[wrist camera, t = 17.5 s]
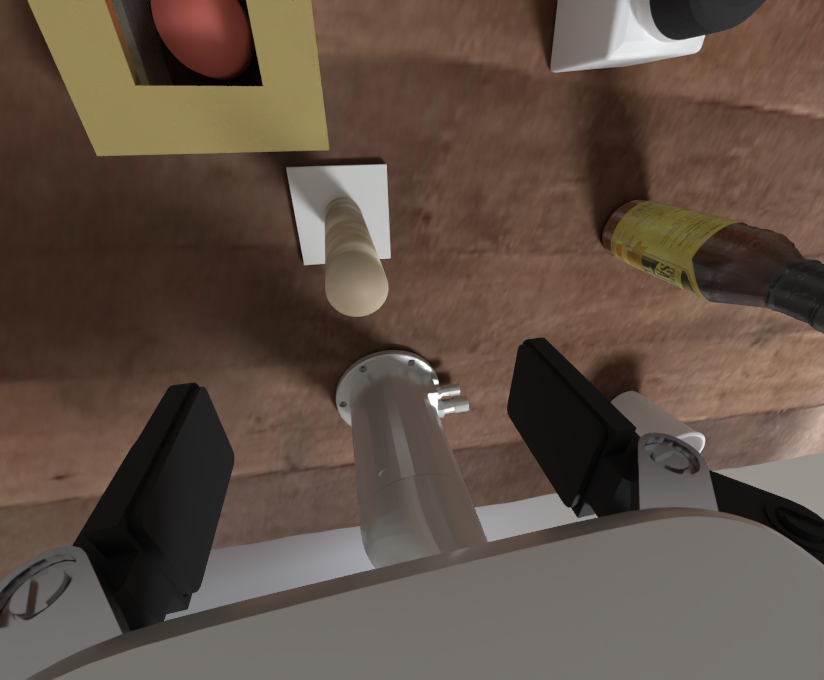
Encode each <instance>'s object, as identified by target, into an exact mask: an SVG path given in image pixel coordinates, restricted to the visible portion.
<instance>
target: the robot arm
mask: <svg viewBox="0 0 824 680" xmlns="http://www.w3.org/2000/svg"><path fill="white" fill-rule="evenodd" d="M454 395H460V387H459V384H458V383H456V384H450V385H447V386H439V380H438V378H437V375H436V373H435V371H434V369H433V367H432V366H431V365H430V364H429V363H428V362H427V361H426V360H425V359H424V358H422V357H421V356H419V355H417V354H414V353H412V352H408V351H403V350H386V351H379V352H376V353H372V354H369V355H367V356H365V357H363V358H361V359H359V360H358V361H356V362H355V363H354V364H352V365H351V366H350V367H349V368H348V369H347V370H346V371H345V372H344V374H343V375H342V377H341V378H340V380H339V383H338V385H337V389H336V405H337V409H338V412H339V414H340V416H341V417H342V418H343V420H344V421H345V422H346V423H347V424H349V425H350V426H351V427H352V437H353V448H354V460H355V471H356V483H357V494H358V506H359V517H360V528H361V536H362V542H363V545H364V549H365V551H366V554H367V556H368V557H369V560H370V561H371V563H372V564H373V565H374V567H375V569H373V570H369V571H365V572H360V573H356V574H352V575H348V576H344V577H340V578H335V579H331V580H328V581H323V582H319V583H315V584H311V585H306V586H302V587H298V588H294V589H290V590H286V591H281V592H277V593H273V594H269V595H265V596H261V597H257V598H253V599H248V600H245V601H241V602H237V603H233V604H229V605H225V606H221V607H217V608H214V609H210V610H206V611H202V612H198V613H194V614H190V615H186V616H183V617H179V618H175V619H171V620H167V621H164V619H165V616H166V614H169V613H174V612H178V611H182V610H186V609H188V606H189V603H190V599H191V596H192V593H195V592H197V591H198V590H199V588H200V586H201V583H202V580H203V576H204V572H205V569H206V565H207V561H208V557H209V554H210V550H211V547H212V543H213V539H214V536H215V532H216V528H217V525H218V521H219V517H220V513H221V510H222V506H223V502H224V499H225V495H226V491H227V488H228V484H229V480H230V477H231V473H232V469H233V465H234V453H233V450H232V447H231V445H230V443H229V440H228V438H227V436H226V433H225V431H224V429H223V427H222V424H221V422H220V420H219V417H218V415H217V413H216V410H215V408H214V406H213V403H212V401H211V399H210V396H209V394H208V392H207V390H206V388H205V387H199V386H198V384H196V383H187V384H180V385H172V386H170V387H169V388H168V389H167V391H166V393H165V394H164V396H163V398H162V399H161V401H160V403H159V404H158V406H157V408H156V409H155V411H154V413H153V414H152V416H151V418H150V420H149V421H148V423H147V425H146V426H145V428H144V430H143V431H142V433H141V435H140V436H139V438H138V440H137V441H136V442H135V444H134V445H133V446H132V447H131V449H130V451H129V452H128V454H127V456H126V457H125V459H124V461H123V462H122V464H121V466H120V467H119V469H118V471H117V472H116V474H115V476H114V477H113V479H112V481H111V482H110V484H109V486H108V487H107V489H106V491H105V492H104V494H103V496H102V497H101V499H100V501H99V502H98V504H97V506H96V507H95V509H94V511H93V512H92V514H91V516H90V517H89V519H88V521H87V522H86V524H85V526H84V527H83V529H82V531H81V532H80V534H79V536H78V537H77V539H76V541H75V542H74V544H73V545H72V546H64V547H58V548H55V549H52V550H49V551H46V552H44V553H42V554H40V555H38V556H36V557H34V558H32V559H31V560H29V561H27V562H26V563H24V564H23V565H21V566H20V567H19V568H17V569H16V570H15V571H13V572H12V573H11V574H10V575H8V576H7V577H6V578H5V579H4V580H3V581H2V582H1V583H0V680H824V520H823V519H822V518H821V517H820V516H818V515H817V514H815V513H814V512H812V511H811V510H809V509H807V508H806V507H804V506H802V505H800V504H797V503H795V502H793V501H791V500H788V499H786V498H783V497H780V496H777V495H775V494H772V493H769V492H767V491H764V490H761V489H759V488H756V487H753V486H751V485H748V484H745V483H742V482H739V481H737V480H734V479H731V478H729V477H726V476H723V475H721V474H718V473H715V472H713V471H710V470H709V468H708V465H707V463H706V461H705V459H704V458H703V456H702V455H701V454H700V453H699V452H698V451H697V450H696V449H695V448H693V447H692V446H691V445H690V444H688V443H686V442H684V441H682V440H681V439H679V438H676V437H674V436H671V435H668V434H663V433H647V434H644V435H643V436H642V437H640V436H639V435H638V434H637V433H636V432H635V430H636V427H635V426H634V425H633V424H632V423H631V422H630V421H629V420H628V419H627V418H626V417H625V416H624V415H623V414H622V413H621V412H620V411H619V410H618V409H617V408H616V407H615V406H614V405H613V404H612V403H611V402H610V401H609V400H608V399H607V398H606V397H605V396H604V395H603V394H602V393H601V392H599V391H598V390H597V389H596V388H595V387H594V386H593V385H592V384H591V383H590V382H589V381H588V380H587V379H586V378H585V377H584V376H583V375H582V374H581V373H580V372H579V371H578V370H577V369H576V368H575V367H574V366H573V365H572V364H571V363H570V362H569V361H568V360H567V359H566V358H565V357H564V356H563V355H561V354H560V353H559V352H558V351H557V350H556V349H555V348H554V347H553V346H552V345H551V344H550V343H549V342H548V341H547V340H546V339H545V338H535V339H527V340H525V341H524V342H523V345H520V346H519V348H518V352H517V357H516V362H515V368H514V373H513V378H512V384H511V389H510V394H509V399H508V405H507V411H508V415H509V417H510V419H511V420H512V422H513V424H514V425H515V427H516V428H517V430H518V432H519V433H520V435H521V436H522V438H523V440H524V441H525V443H526V444H527V446H528V448H529V449H530V451H531V452H532V454H533V455H534V457H535V459H536V460H537V462H538V463H539V465H540V467H541V468H542V470H543V471H544V473H545V475H546V476H547V478H548V479H549V481H550V483H551V484H552V486H553V487H554V489H555V490H556V492H557V494H558V495H559V497H560V498H561V500H562V501H563V503H564V504H565V505H566V506H567V507H571V508H572V510H573V511H574V513H575V514H576V516H577V517H578V518H580V517H584V516H588V515H593V514H595V513H596V515H597V516H598V518H594V519H590V520H585V521H580V522H575V523H571V524H567V525H562V526H557V527H553V528H549V529H544V530H540V531H536V532H531V533H527V534H523V535H518V536H514V537H510V538H505V539H501V540H496V541H492V542H488V539H487V537H486V535H485V533H484V530H483V528H482V526H481V523H480V521H479V518H478V516H477V514H476V511H475V508H474V506H473V503H472V501H471V498H470V495H469V493H468V490H467V488H466V485H465V483H464V480H463V477H462V475H461V472H460V470H459V467H458V465H457V462H456V459H455V457H454V454H453V452H452V449H451V446H450V444H449V441H448V439H447V436H446V434H445V431H444V428H443V426H442V423H441V421H440V418H443V417H444V414H447V413H459V412H465V411H468V410H469V402H468V399H467V397H466V396H459V397H453V398H451V399H445V400H442V399H441V397H444V396H454Z"/></svg>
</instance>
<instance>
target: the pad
mask: <svg viewBox="0 0 824 680" xmlns="http://www.w3.org/2000/svg"><path fill="white" fill-rule="evenodd" d="M286 170H287V175H288V181H289V186H290V191H291V197H292V202H293V208H294V213H295V218H296V224H297V229H298V234H299V240H300V245H301V250H302V256H303V261H304V265H313V264H325V210H326V207H327V205H328V204H329V203H330V202H331V201H332V200H334V199H336V198H340V197H345V198H349V199H351V200H353V201H354V202H355V203H356V204H357V205H358V206H359V208H360V210H361V212H362V215H363V218H364V220H365V223H366V226H367V228H368V231H369V233H370V236H371V239H372V241H373V244H374V246H375V249H376V252H377V254H378V257H379V259H387V258H391V254H390V232H389V210H388V187H387V165H386V164H364V165H334V166H303V167H286Z"/></svg>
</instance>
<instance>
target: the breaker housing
mask: <svg viewBox="0 0 824 680" xmlns="http://www.w3.org/2000/svg"><path fill="white" fill-rule="evenodd" d="M246 2H247V7H248V12H249V17H250V23H251V28H252V33H253V38H254V43H255V48H256V53H257V58H258V63H259V68H260V73H261V78H262V83H263V86H173V85H172V81H171V78H170V75H169V72H168V69H167V65H166V62H165V59H164V56H163V53H162V49H161V46H160V43H159V40H158V37H157V33H156V30H155V27H154V24H153V21H152V17H151V14H150V11H149V8H148V4H147V1H146V0H28V3H29V5H30V7H31V9H32V12H33V14H34V16H35V18H36V21H37V23H38V25H39V27H40V30H41V32H42V34H43V36H44V38H45V41H46V43H47V45H48V47H49V50H50V52H51V54H52V56H53V59H54V61H55V63H56V65H57V68H58V70H59V72H60V74H61V76H62V79H63V81H64V83H65V85H66V88H67V90H68V92H69V94H70V97H71V99H72V101H73V103H74V105H75V108H76V110H77V112H78V114H79V117H80V119H81V121H82V123H83V126H84V128H85V130H86V132H87V135H88V137H89V139H90V141H91V143H92V146H93V148H94V150H95V152H96V155H97V156H118V155H157V154H197V153H236V152H276V151H315V150H329V143H328V135H327V127H326V118H325V110H324V102H323V94H322V86H321V78H320V70H319V61H318V53H317V45H316V37H315V29H314V21H313V13H312V4H311V0H246Z"/></svg>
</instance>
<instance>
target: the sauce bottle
mask: <svg viewBox="0 0 824 680" xmlns="http://www.w3.org/2000/svg"><path fill="white" fill-rule="evenodd" d="M602 235H603V236H602V242H603V245H604V247H605V249H606V250H607V251H608V253H609V254H612V255H613V256H614V257H615V258H617V259H618V260H620V261H622V262H624V263H627V264H629V265H631V266H633V267H635V268H637V269H640V270H642V271H644V272H646V273H648V274H650V275H652V276H655V277H657V278H659V279H661V280H664V281H666V282H668V283H670V284H672V285H675V286H677V287H679V288H682V289H684V290H686V291H688V292H690V293H692V294H694V295H696V296H699V297H701V298H703V299H706V300H708V301H710V302H717V303H728V304H738V305H746V306H755V307H763V308H770V309H771V310H773V311H777V312H781V313H784V314H786V315H788V316H791V317H793V318H795V319H798V320H800V321H803V322H806V323H809V325H810V326H811V327H813V328H814V329H815V330H817V331H819V332H822V333H824V264H822V263H821V262H820V261H818V260H809V259H805V258H803V256H802V255H801V254H800V252H799V251H798V249H796V248H795V245H794V243H792V242H791V241H790V240H789V239H788V238H787V237H786V236H784V235H782V234H779V233H775V232H774V231H772V230H767V229H760V228H757V227H752V226H748V225H747V224H745V223H743V222H739V221H735V220H731V219H727V218H723V217H719V216H714V215H710V214H706V213H702V212H698V211H694V210H689V209H685V208H681V207H677V206H673V205H668V204H664V203H660V202H655V201H647V200H633V201H631V202H628V203H625V204H623V205H622V206H620V207H619V208H618V209H617V210H615V211H614V213H613V214H612V215H611V217H610V218H609V220H608V222H607V223H606V225H605V227H604V230H603V234H602Z"/></svg>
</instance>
